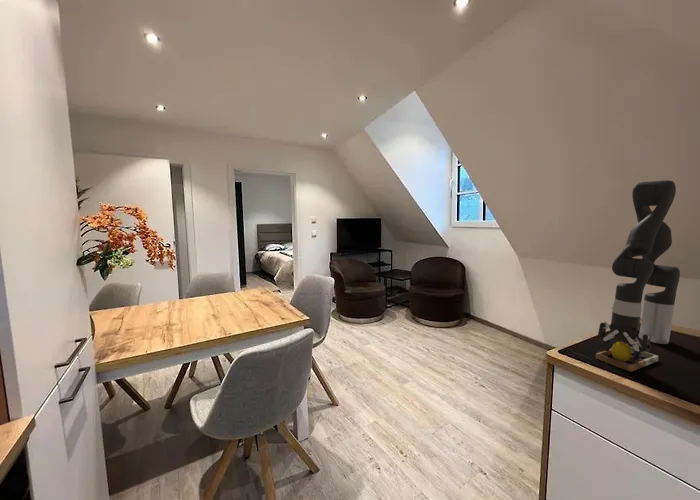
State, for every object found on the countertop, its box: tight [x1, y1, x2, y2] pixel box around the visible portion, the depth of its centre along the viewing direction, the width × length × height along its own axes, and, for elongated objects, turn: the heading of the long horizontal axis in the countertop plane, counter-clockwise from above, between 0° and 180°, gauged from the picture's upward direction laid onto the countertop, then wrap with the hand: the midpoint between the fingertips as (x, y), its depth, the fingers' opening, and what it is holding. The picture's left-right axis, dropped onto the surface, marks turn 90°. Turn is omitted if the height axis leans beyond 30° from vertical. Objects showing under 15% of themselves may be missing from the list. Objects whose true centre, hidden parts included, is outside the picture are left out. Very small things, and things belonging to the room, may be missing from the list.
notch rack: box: [595, 346, 660, 373], centre depth 112 cm, size 20×11×2 cm, turn 115°
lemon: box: [610, 340, 633, 363], centre depth 110 cm, size 6×6×8 cm
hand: (620, 355), depth 110 cm, fingers open, 8 cm apart
